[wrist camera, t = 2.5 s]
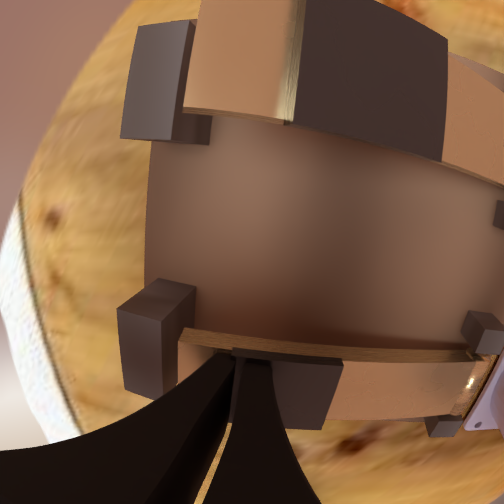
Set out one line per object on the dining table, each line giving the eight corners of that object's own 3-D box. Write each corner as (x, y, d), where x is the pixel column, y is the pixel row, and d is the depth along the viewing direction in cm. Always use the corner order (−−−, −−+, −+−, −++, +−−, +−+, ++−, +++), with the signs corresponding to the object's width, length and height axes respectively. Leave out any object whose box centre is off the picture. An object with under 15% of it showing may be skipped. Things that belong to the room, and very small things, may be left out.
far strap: (482, 344, 9) (500, 364, 8) (455, 398, 10) (469, 420, 9) (185, 321, 9) (174, 345, 8) (184, 387, 10) (175, 413, 9)
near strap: (527, 126, 7) (557, 130, 6) (520, 199, 8) (550, 208, 6) (203, -8, 4) (212, -45, 3) (181, 119, 5) (183, 109, 4)
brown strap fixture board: (509, 105, 9) (590, 86, 4) (439, 384, 13) (471, 466, 8) (200, 46, 12) (130, -11, 6) (174, 339, 16) (115, 410, 10)
